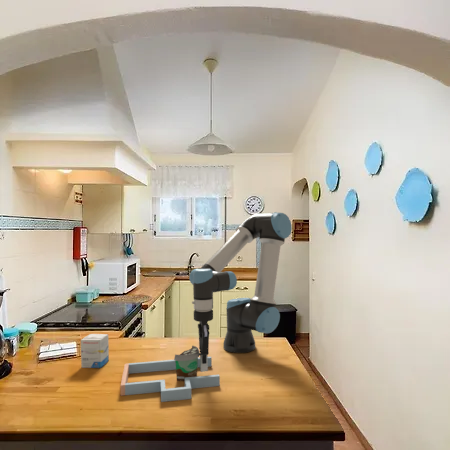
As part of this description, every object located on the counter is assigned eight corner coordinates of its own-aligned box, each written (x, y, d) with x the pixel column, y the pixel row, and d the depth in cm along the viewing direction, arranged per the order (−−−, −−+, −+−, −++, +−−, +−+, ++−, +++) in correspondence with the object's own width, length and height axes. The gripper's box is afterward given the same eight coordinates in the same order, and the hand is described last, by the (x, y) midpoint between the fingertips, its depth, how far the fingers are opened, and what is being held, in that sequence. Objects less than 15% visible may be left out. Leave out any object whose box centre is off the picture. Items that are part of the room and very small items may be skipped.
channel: (211, 364, 150) (210, 356, 150) (223, 395, 123) (223, 385, 123) (125, 372, 143) (125, 363, 143) (118, 406, 117) (118, 395, 117)
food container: (188, 385, 131) (187, 357, 131) (174, 381, 134) (174, 354, 134) (206, 372, 142) (205, 347, 142) (193, 370, 145) (192, 345, 145)
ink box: (109, 360, 157) (109, 333, 157) (100, 368, 148) (100, 339, 148) (90, 360, 157) (90, 333, 157) (80, 367, 149) (80, 339, 149)
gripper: (191, 306, 145) (192, 365, 145) (195, 314, 132) (196, 378, 132) (210, 305, 147) (210, 363, 147) (215, 312, 134) (216, 376, 134)
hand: (203, 370), depth 139 cm, fingers closed
